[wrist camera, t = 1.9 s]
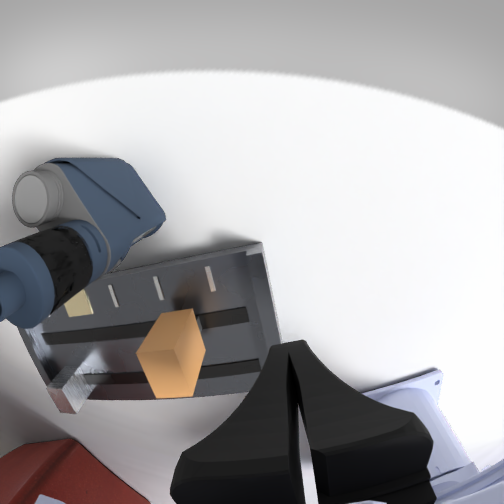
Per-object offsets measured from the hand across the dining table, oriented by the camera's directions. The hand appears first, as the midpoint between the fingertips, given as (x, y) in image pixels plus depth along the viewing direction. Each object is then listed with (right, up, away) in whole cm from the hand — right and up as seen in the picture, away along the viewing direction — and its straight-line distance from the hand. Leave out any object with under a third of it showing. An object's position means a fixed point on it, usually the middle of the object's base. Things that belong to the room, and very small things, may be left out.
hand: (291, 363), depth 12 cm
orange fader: (-5, 0, +6) cm, 8 cm away
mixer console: (-9, -1, +7) cm, 12 cm away
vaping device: (-8, +7, +5) cm, 12 cm away
